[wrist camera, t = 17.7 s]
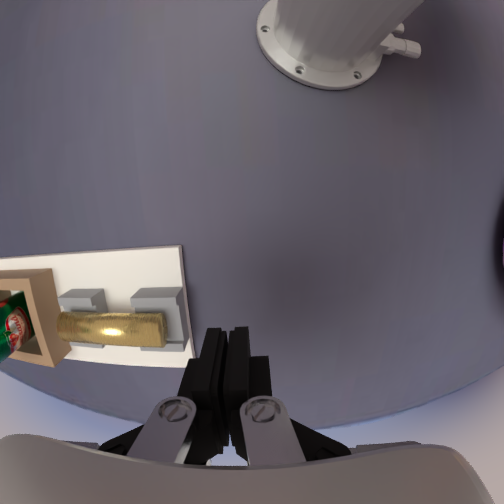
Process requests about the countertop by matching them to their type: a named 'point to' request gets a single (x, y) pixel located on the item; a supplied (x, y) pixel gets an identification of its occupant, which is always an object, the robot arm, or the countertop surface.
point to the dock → (117, 291)
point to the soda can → (14, 324)
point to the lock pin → (113, 328)
